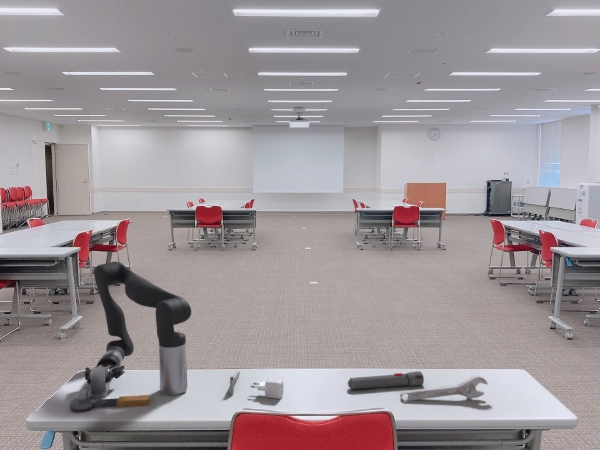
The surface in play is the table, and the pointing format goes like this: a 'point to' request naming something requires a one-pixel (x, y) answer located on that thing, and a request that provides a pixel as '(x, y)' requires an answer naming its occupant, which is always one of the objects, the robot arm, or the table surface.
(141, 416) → the table surface
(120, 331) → the robot arm
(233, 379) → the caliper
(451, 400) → the table surface
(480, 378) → the wrench
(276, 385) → the power adapter
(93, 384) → the brushed metal block
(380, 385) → the flashlight
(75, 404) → the ratchet
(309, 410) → the table surface
